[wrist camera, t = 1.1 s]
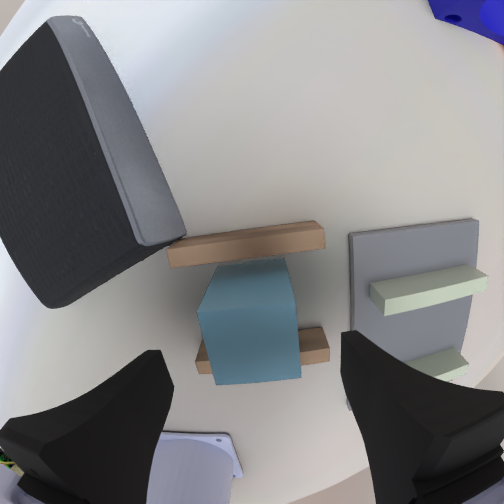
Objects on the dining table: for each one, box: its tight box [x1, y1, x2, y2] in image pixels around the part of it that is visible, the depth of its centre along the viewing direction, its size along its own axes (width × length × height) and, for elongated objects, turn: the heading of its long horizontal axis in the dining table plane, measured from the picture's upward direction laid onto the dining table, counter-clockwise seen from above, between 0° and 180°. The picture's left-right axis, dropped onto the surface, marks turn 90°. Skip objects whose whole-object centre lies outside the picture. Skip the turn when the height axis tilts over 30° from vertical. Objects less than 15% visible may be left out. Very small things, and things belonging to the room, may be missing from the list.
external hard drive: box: [0, 16, 186, 309], centre depth 14 cm, size 13×19×4 cm
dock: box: [347, 219, 488, 411], centre depth 16 cm, size 10×14×3 cm
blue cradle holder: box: [428, 0, 504, 45], centre depth 8 cm, size 12×4×6 cm, turn 97°
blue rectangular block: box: [197, 258, 301, 385], centre depth 15 cm, size 4×4×6 cm
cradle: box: [166, 221, 330, 374], centre depth 16 cm, size 8×8×2 cm
